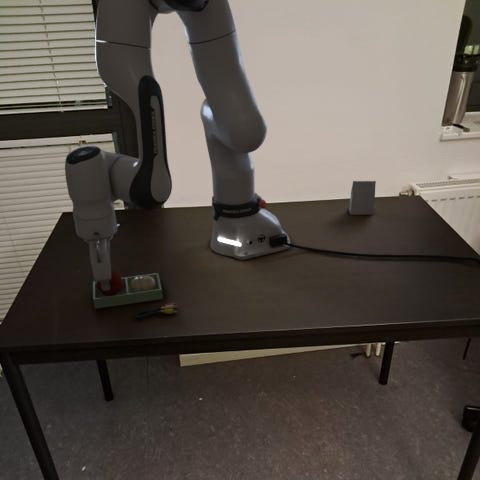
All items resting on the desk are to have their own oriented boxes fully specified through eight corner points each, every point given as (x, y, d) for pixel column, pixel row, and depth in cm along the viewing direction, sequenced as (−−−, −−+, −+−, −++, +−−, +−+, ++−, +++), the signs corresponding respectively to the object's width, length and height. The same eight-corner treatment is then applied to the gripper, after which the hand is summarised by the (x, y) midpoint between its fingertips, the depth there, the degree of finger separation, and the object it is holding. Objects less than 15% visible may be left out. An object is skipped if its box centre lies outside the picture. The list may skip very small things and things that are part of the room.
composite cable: (135, 321, 115) (133, 312, 114) (136, 309, 119) (135, 300, 118) (179, 318, 116) (178, 309, 114) (179, 306, 120) (178, 297, 118)
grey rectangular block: (372, 214, 159) (376, 183, 154) (350, 214, 160) (353, 183, 154) (370, 209, 162) (374, 179, 157) (349, 209, 163) (352, 179, 157)
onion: (118, 304, 120) (113, 274, 116) (96, 302, 122) (89, 272, 117) (128, 291, 125) (122, 262, 120) (106, 289, 126) (100, 260, 122)
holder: (159, 282, 129) (158, 272, 127) (163, 299, 122) (161, 289, 121) (95, 291, 126) (92, 281, 124) (95, 309, 120) (92, 299, 118)
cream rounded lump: (155, 286, 127) (153, 271, 124) (157, 294, 124) (155, 279, 121) (131, 289, 126) (128, 274, 123) (132, 298, 122) (129, 283, 120)
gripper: (111, 243, 105) (121, 300, 113) (110, 205, 121) (118, 257, 129) (80, 246, 104) (91, 303, 112) (82, 208, 120) (92, 260, 128)
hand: (106, 278), depth 120 cm, fingers open, 8 cm apart
